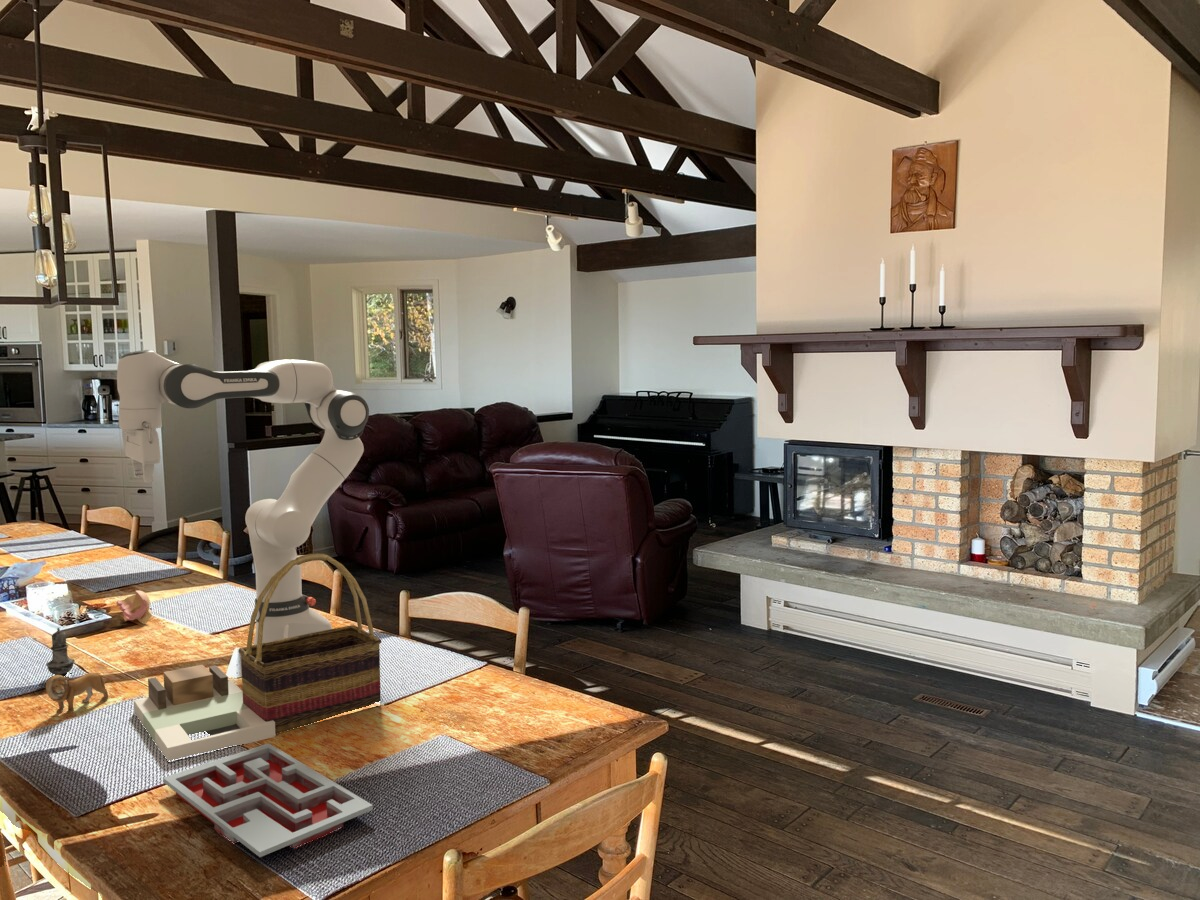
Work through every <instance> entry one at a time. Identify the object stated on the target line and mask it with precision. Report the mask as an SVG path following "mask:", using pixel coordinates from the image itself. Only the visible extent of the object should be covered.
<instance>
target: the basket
mask: <svg viewBox="0 0 1200 900" xmlns="http://www.w3.org/2000/svg"><path fill="white" fill-rule="evenodd" d="M297 557H298V558H296V559H295V560H292V561H290V562H288V563H287V564H286V565H285V566H284V567H283V568H282V569H281V570H279V571H278V572H277V573H276V574H275V575H274V576H273V577H272V578H271V579H270V581H269V582H268V584H267V585H266V586H265V588H264V589H263V591H262V592H261V594H260V595H259V597H258V600H257V603H256V605H255V604H254V609H253V610H252V613H251V616H250V621H249V622H250V623H249V626H248V627H249V628H248V635H247V641H246V646H242V647H240V648H238V653H239V654H240V659H241V661H240V662H241V687H242V689H241V690H242V691H243V703H244V704H245V705H246V706H247V707H248V708H250V709H251V710H252V711H253V712H254V713H256V714H257V715H258V716H259V717H260V718H262V719H263V720H264V721H265V722H268V721H272V720H273V721H274V722H275V735H277V733H278V734H281V733H280V732H282V733H285V732H284V731H286V732H288V731H287V730H289V731H291V730H290V729H293V728H297V727H300V726H304V725H308V724H311V723H314V722H317V721H320V720H323V719H326V718H329V717H332V716H335V715H338V714H341V713H344V712H348V711H352V710H355V709H359V708H362V707H366V706H369V705H371V704H374V703H375V702H379V701H381V700H382V699H381V698H382V697H381V659H380V658H381V655H380V650H381V649H380V648H381V647H380V644H381V643H382V639H380V638H379V637H377V636H375V634H374V629H373V627H374V626H373V623H372V619H371V615H370V614H371V613H370V610H369V606H368V605H369V604H368V603H367V598H366V596H365V595H364V594H365V593H364V592H363V591H362V589H361V587H360V585H359V583H358V582H357V580H356V578H355V577H354V576H353V575H352V573H351V572H350V571H349V570H348V569H347V568H346V567H345V566H344V564H342V563H341V562H339V561H337V560H336V559H335V558H333V557H331V556H330V555H328V554H326V553H318V552H317V553H308V554H304V555H303V554H302V555H300V556H297ZM314 561H323V562H325V561H327V562H329V563H331V564H332V566H333V565H334V566H335V567H336V568H337V570H338V571H339V572H340V573H341V575H342V576H343V577H344V579H346V582H347V585H348V588H349V589H350V592H351V594H352V596H353V602H354V603H353V604H354V608H355V609H354V610H355V616H356V622H357V623H356V625H357V626H356V625H353V624H352V625H347V626H341V627H336V628H332V629H329V630H324V631H319V632H314V633H309V634H305V635H300V636H295V637H290V638H285V639H281V640H276V641H271V642H266V643H262V638H263V625H264V619H265V616H266V612H267V608H268V604H269V601H270V599H271V597H272V595H273V593H274V591H275V589H276V587H277V585H278V583H279V581H280V580H281V579H282V578H283V577H284V576H285V575H286V574H287V573H288V572H289V570H290V569H291V568H292V567H293V566H294V565H302V564H304V563H309V562H314ZM272 584H273V585H272ZM271 586H272V587H271ZM270 587H271V589H270ZM269 589H270V590H269ZM268 590H269V592H268ZM267 592H268V594H267V596H266V598H265V601H264V604H263V608H262V612H261V616H260V620H259V626H258V639H257V645H254V644H253V640H254V634H255V633H254V631H255V627H256V625H255V624H256V616H257V613H258V611H259V608H260V605H261V603H262V600H263V598H264V596H265V595H266V593H267ZM359 598H360V600H361V602H362V606H363V611H364V616H365V620H366V625H367V629H368V632H367V631H365V630H364V629H363V625H362V616H361V611H360V610H361V608H360V602H359ZM308 726H309V725H308ZM304 727H305V726H304ZM297 729H298V728H297ZM293 730H294V729H293Z"/></svg>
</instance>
